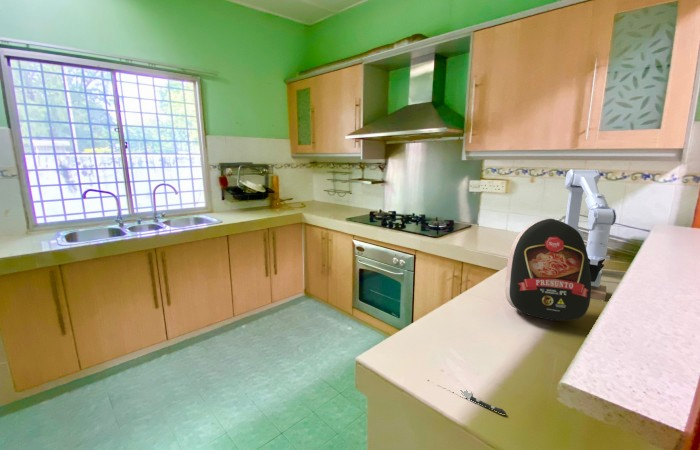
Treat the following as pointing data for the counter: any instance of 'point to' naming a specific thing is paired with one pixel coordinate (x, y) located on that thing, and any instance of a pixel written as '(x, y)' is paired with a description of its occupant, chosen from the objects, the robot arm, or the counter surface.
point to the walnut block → (598, 292)
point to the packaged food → (549, 272)
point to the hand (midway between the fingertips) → (591, 278)
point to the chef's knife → (469, 396)
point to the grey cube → (597, 280)
